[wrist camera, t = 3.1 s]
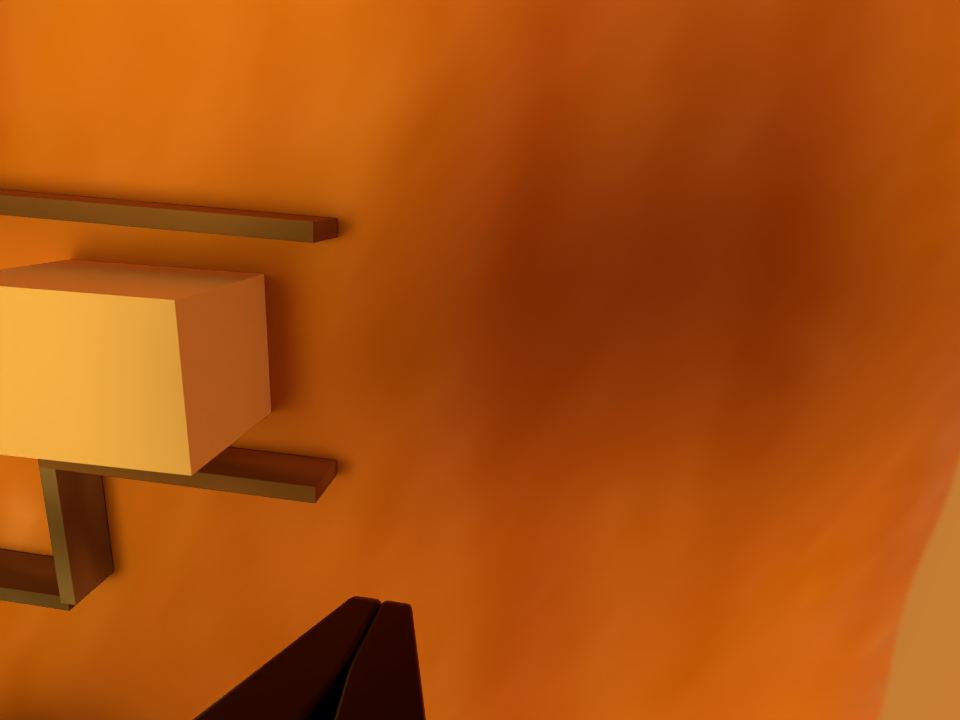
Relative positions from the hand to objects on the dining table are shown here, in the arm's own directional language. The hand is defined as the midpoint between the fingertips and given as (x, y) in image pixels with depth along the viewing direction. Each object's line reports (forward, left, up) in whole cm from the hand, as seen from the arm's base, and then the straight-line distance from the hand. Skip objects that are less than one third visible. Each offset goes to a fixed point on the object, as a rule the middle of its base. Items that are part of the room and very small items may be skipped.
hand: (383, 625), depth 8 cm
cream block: (0, +11, -12) cm, 16 cm away
